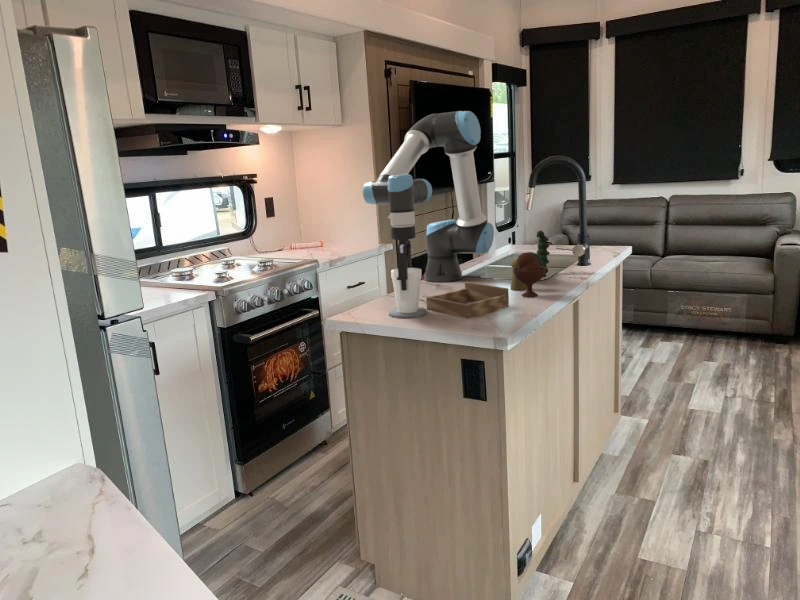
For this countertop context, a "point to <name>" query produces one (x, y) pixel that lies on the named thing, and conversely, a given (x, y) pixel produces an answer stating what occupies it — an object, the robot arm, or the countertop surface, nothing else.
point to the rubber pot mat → (397, 314)
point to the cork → (516, 280)
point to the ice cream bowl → (529, 272)
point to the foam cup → (414, 290)
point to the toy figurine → (542, 250)
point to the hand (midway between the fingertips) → (406, 296)
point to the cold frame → (481, 294)
